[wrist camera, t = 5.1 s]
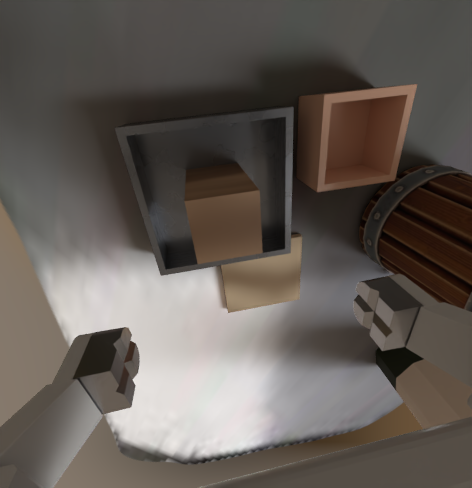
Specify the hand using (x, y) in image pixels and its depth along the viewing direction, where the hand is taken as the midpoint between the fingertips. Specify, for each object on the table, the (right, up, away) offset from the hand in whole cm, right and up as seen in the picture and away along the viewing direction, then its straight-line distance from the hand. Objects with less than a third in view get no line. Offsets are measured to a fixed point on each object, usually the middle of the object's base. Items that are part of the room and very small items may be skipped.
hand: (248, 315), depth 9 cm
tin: (-2, +7, +12) cm, 14 cm away
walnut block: (-2, +7, +11) cm, 13 cm away
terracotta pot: (+7, +11, +11) cm, 17 cm away
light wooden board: (+2, -1, +17) cm, 17 cm away
